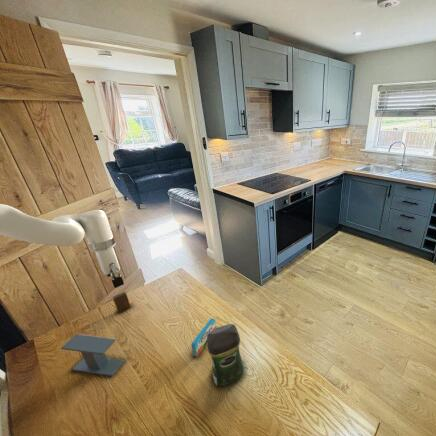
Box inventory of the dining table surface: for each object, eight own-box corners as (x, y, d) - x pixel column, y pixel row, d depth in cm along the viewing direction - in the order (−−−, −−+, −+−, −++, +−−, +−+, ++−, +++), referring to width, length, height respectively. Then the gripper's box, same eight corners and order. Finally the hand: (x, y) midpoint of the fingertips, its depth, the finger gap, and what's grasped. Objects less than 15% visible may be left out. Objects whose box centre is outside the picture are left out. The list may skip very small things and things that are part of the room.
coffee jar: (239, 356, 82) (235, 317, 75) (246, 377, 76) (242, 336, 69) (210, 369, 78) (203, 328, 71) (215, 392, 72) (208, 350, 64)
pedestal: (73, 371, 77) (60, 347, 72) (87, 356, 81) (76, 334, 77) (112, 377, 75) (102, 353, 71) (124, 362, 80) (115, 339, 76)
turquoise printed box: (213, 329, 93) (211, 317, 90) (216, 330, 93) (214, 318, 90) (193, 356, 82) (190, 344, 80) (197, 357, 82) (194, 345, 79)
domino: (118, 314, 99) (113, 299, 96) (117, 311, 100) (112, 297, 97) (131, 308, 102) (126, 293, 99) (129, 306, 103) (124, 291, 100)
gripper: (84, 239, 90) (98, 275, 97) (95, 256, 80) (110, 295, 87) (108, 232, 95) (120, 267, 102) (121, 247, 85) (133, 285, 92)
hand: (115, 280), depth 95 cm, fingers open, 9 cm apart
